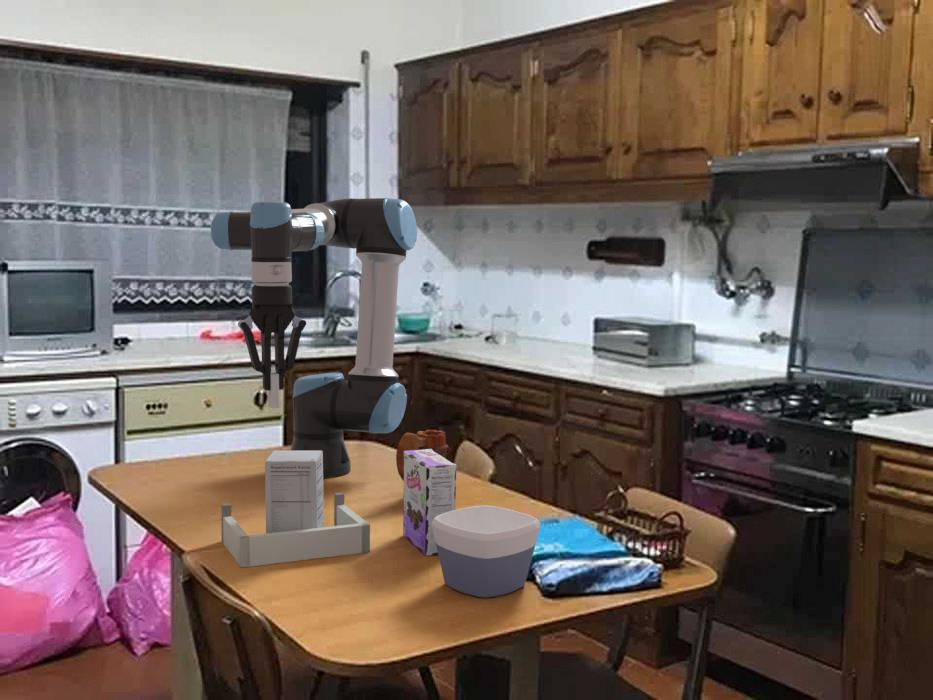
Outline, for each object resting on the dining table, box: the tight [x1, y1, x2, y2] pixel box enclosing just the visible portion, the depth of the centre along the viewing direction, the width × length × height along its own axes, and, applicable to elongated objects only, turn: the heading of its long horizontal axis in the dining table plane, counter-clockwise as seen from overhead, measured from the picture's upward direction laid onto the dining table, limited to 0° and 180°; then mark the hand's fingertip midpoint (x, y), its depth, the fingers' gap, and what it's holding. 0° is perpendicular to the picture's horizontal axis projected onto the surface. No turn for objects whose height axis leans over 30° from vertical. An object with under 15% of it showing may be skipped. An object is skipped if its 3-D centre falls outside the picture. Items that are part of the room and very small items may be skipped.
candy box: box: [402, 449, 457, 557], centre depth 191 cm, size 14×6×16 cm, turn 21°
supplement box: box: [264, 450, 325, 534], centre depth 188 cm, size 10×9×17 cm
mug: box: [395, 429, 452, 482], centre depth 222 cm, size 15×8×15 cm, turn 141°
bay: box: [220, 492, 371, 568], centre depth 188 cm, size 16×23×7 cm
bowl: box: [431, 504, 541, 599], centre depth 169 cm, size 15×15×11 cm
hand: (273, 406), depth 200 cm, fingers closed
